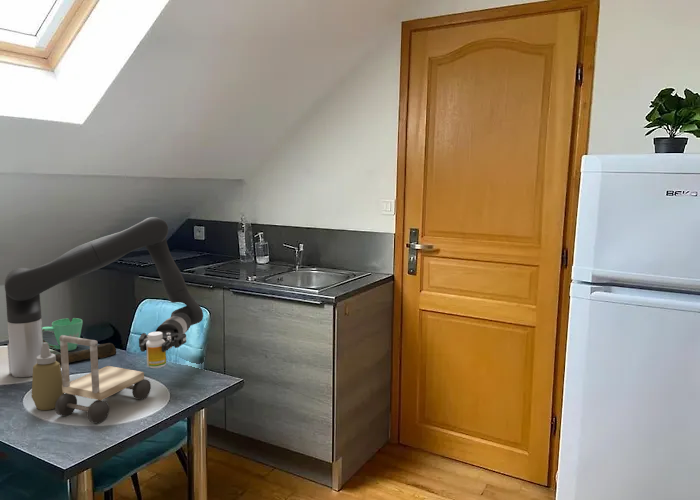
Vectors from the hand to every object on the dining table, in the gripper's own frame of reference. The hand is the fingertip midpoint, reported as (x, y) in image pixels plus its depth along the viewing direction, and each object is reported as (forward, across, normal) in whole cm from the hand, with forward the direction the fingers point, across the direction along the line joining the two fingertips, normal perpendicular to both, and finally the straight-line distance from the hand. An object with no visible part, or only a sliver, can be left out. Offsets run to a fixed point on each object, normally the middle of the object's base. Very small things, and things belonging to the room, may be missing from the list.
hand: (152, 348), depth 161 cm
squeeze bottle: (+10, -26, +14) cm, 31 cm away
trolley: (+9, -10, +14) cm, 19 cm away
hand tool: (-27, -33, +14) cm, 45 cm away
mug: (-36, -46, +14) cm, 60 cm away
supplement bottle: (-3, 0, +6) cm, 7 cm away
